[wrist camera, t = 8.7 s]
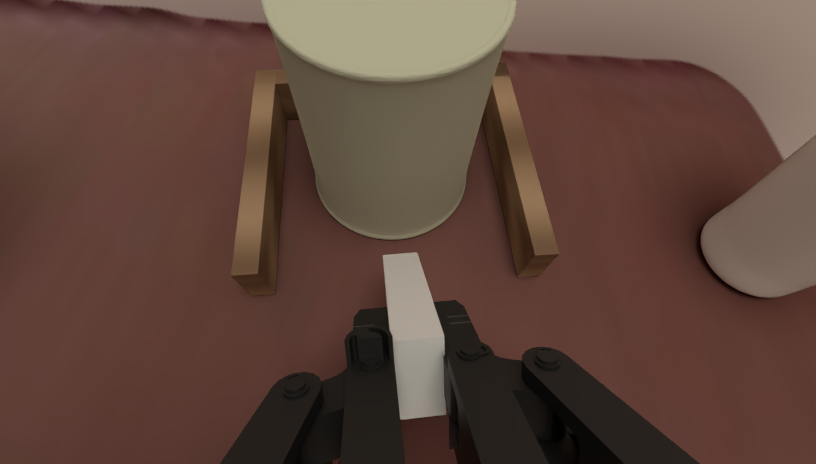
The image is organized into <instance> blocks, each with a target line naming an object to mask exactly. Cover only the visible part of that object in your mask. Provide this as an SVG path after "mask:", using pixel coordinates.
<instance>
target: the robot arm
mask: <svg viewBox="0 0 816 464" xmlns="http://www.w3.org/2000/svg"><path fill="white" fill-rule="evenodd" d="M383 265H384V278H385V292H386V305H387V307H385V308H374V309H363V310H360V311H359V312H358V313H357V314H356V316H355V317H354V324H353V331H351V332H350V333H349V334H348V335H347V336H346V338H345V348H346V357H347V369H346V370H344V371H343V372H342V373H341V374H339V375H337V376H335V377H333V378H330V379H328V380H325V381H320V378H319V377H318V376H316V375H315V374H312V373H307V372H301V373H294V374H291V375H288V376H286V377H284V378H282V379H281V380H279V381H278V382H277V383H276V384H275V385H274V386H273V387H272V388H271V390H270V391H269V393H268V394H267V396H266V397H265V399H264V400H263V402H262V403H261V404H260V406H259V407H258V409H257V410H256V412H255V413H254V415H253V416H252V418H251V419H250V421H249V422H248V424H247V425H246V427H245V428H244V429H243V431H242V432H241V434H240V435H239V437H238V438H237V440H236V441H235V443H234V444H233V446H232V447H231V449H230V450H229V452H228V453H227V454H226V456H225V457H224V459H223V460H222V462H221V463H220V464H332V460H334V459H337V458H339V457H340V464H405V460H404V450H403V441H402V431H401V421H400V420H403V419H412V418H421V417H430V416H439V415H446V405H447V409H448V413H449V449H453V446H454V451H455V455H456V459H457V463H458V464H699V463H698V462H697V461H696V460H695V459H693V458H692V457H691V456H690V455H688V454H687V453H686V452H685V451H683V450H682V449H681V448H680V447H679V446H677V445H676V444H675V443H674V442H672V441H671V440H670V439H669V438H668V437H666V436H665V435H664V434H663V433H661V432H660V431H659V430H658V429H657V428H655V427H654V426H653V425H652V424H650V423H649V422H648V421H647V420H645V419H644V418H643V417H642V416H641V415H639V414H638V413H637V412H636V411H634V410H633V409H632V408H631V407H630V406H628V405H627V404H626V403H625V402H623V401H622V400H621V399H620V398H618V397H617V396H616V395H615V394H614V393H612V392H611V391H610V390H609V389H607V388H606V387H605V386H604V385H603V384H601V383H600V382H599V381H598V380H596V379H595V378H594V377H593V376H591V375H590V374H589V373H588V372H587V371H585V370H584V369H583V368H582V367H580V366H579V365H578V364H577V363H576V362H574V361H573V360H572V359H571V358H569V357H568V356H567V355H565V354H564V353H562V352H560V351H558V350H555V349H552V348H547V347H536V348H531V349H529V350H527V351H525V353H524V354H523V355H522V361H520V360H511V359H505V358H500V357H497V356H495V355H494V353H493V351H492V350H491V348H490V347H489V346H487V345H486V344H484V343H482V342H480V339H479V337H478V335H477V333H476V331H475V329H474V327H473V325H472V323H471V320H470V318H469V316H468V314H467V312H466V310H465V308H464V306H463V305H461V304H460V303H458V302H457V301H456V300H451V301H440V302H433V300H432V297H431V294H430V291H429V288H428V284H427V281H426V278H425V275H424V272H423V269H422V266H421V263H420V260H419V257H418V254H417V252H416V253H404V254H391V255H383Z"/></svg>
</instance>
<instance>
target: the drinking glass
mask: <svg viewBox="0 0 816 464" xmlns="http://www.w3.org/2000/svg"><path fill="white" fill-rule="evenodd" d="M701 248H702V252H703V255H704V257H705V259H706V261H707V263H708V265H709V266H710V267H711V269H712V270H713V271H714V272H715V273H716V275H717V276H718V277H720V278H721V279H722V280H723V281H724V282H726V283H727V284H728V285H730V286H731V287H733V288H735V289H737V290H739V291H741V292H743V293H746V294H749V295H752V296H757V297H764V298H774V297H781V296H785V295H788V294H791V293H794V292H797V291H800V290H803V289H806V288H809V287H812V286H815V285H816V135H815V136H814V137H812V138H811V139H810V140H809V141H808V142H806V143H805V144H804V145H803V146H802V147H800V148H799V149H798V150H797V151H795V152H794V153H793V154H792V155H791V156H789V157H788V158H787V159H786V160H785V161H783V162H782V163H781V164H780V165H778V166H777V167H776V168H775V169H773V170H772V171H771V172H770V173H769V174H767V175H766V176H765V177H764V178H762V179H761V180H760V181H759V182H758V183H756V184H755V185H754V186H753V187H751V188H750V189H749V190H748V191H746V192H745V193H744V194H743V195H741V196H740V197H739V198H738V199H736V200H735V201H734V202H732V203H731V204H729V205H728V206H726V207H725V208H723V209H722V210H721V211H719V212H718V213H716V214H715V215H713V216H712V217H711V218H710V219H709V220H708V221H707V222H706V224H705V225H704V227H703V230H702V233H701Z"/></svg>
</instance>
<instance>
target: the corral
mask: <svg viewBox="0 0 816 464" xmlns="http://www.w3.org/2000/svg"><path fill="white" fill-rule="evenodd" d="M289 119H299V116H298V113H297V110H296V107H295V103H294V100H293V97H292V93H291V90H290V87H289V84H288V81H287V78H286V74H285V71H284V69H276V70H256V75H255V84H254V92H253V100H252V108H251V116H250V124H249V132H248V140H247V148H246V156H245V164H244V172H243V181H242V189H241V197H240V205H239V213H238V221H237V229H236V237H235V245H234V253H233V261H232V270H231V276H232V277H233V278H234V279H235V280H236V281H237V282H238V283H239V284H240V285H241V286H242V287H243V288H244V289H245V290H246V291H247V292H248V293H249V294H250V295H251V296H257V295H271V294H275V291H276V276H277V261H278V247H279V232H280V218H281V203H282V188H283V174H284V159H285V144H286V130H287V120H289ZM482 120H483V125H484V129H485V134H486V138H487V143H488V147H489V152H490V156H491V161H492V165H493V170H494V174H495V179H496V183H497V188H498V192H499V197H500V201H501V206H502V210H503V215H504V219H505V224H506V228H507V233H508V237H509V242H510V246H511V251H512V255H513V260H514V264H515V269H516V273H517V277H529V276H539V275H540V274H541V273H542V272H543V271H544V270H545V269H546V268H547V267H548V265H549V264H550V263H551V262H552V261H553V260H554V259H555V258H556V257H557V256H558V255H559V251H558V247H557V243H556V240H555V236H554V233H553V229H552V226H551V222H550V219H549V215H548V211H547V208H546V204H545V201H544V197H543V194H542V190H541V186H540V183H539V179H538V176H537V172H536V169H535V165H534V162H533V158H532V154H531V151H530V147H529V144H528V140H527V137H526V133H525V130H524V126H523V122H522V119H521V115H520V112H519V108H518V105H517V101H516V98H515V94H514V90H513V87H512V83H511V80H510V76H509V73H508V69H507V66H506V62H505V63H498V66H497V69H496V73H495V76H494V79H493V82H492V86H491V89H490V92H489V96H488V99H487V102H486V106H485V109H484V113H483V116H482Z"/></svg>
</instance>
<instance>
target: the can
mask: <svg viewBox="0 0 816 464" xmlns="http://www.w3.org/2000/svg"><path fill="white" fill-rule="evenodd" d="M262 8H263V12H264V16H265V19H266V21H267V24H268V26H269V28H270V29H271V32H272V35H273V38H274V40H275V43H276V46H277V49H278V52H279V55H280V59H281V62H282V65H283V68H284V71H285V74H286V78H287V81H288V84H289V87H290V90H291V93H292V97H293V100H294V103H295V107H296V110H297V113H298V116H299V120H300V123H301V126H302V129H303V133H304V136H305V139H306V143H307V146H308V150H309V153H310V157H311V160H312V164H313V167H314V171H315V181H316V187H317V191H318V194H319V197H320V199H321V201H322V203H323V205H324V207H325V208H326V209H327V211H328V212H329V213H330V214H331V215H332V216H333V217H334V218H335V219H336V220H337V221H338V222H339V223H340V224H342V225H343V226H345V227H346V228H348V229H350V230H352V231H354V232H356V233H358V234H361V235H364V236H367V237H371V238H375V239H384V240H399V239H407V238H412V237H415V236H419V235H421V234H424V233H426V232H429V231H431V230H432V229H434V228H436V227H437V226H439V225H440V224H442V223H443V222H444V221H445V220H446V219H447V218H448V217H449V216H450V215H451V214H452V213H453V212H454V211H455V209H456V208H457V206H458V205H459V203H460V201H461V199H462V196H463V193H464V190H465V186H466V173H467V169H468V165H469V162H470V158H471V154H472V151H473V147H474V144H475V140H476V137H477V133H478V130H479V126H480V123H481V119H482V116H483V113H484V109H485V106H486V102H487V99H488V96H489V92H490V89H491V86H492V82H493V79H494V76H495V73H496V69H497V66H498V63H499V59H500V56H501V53H502V50H503V47H504V44H505V41H506V38H507V35H508V33H509V31H510V29H511V26H512V24H513V21H514V18H515V13H516V0H262Z"/></svg>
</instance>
